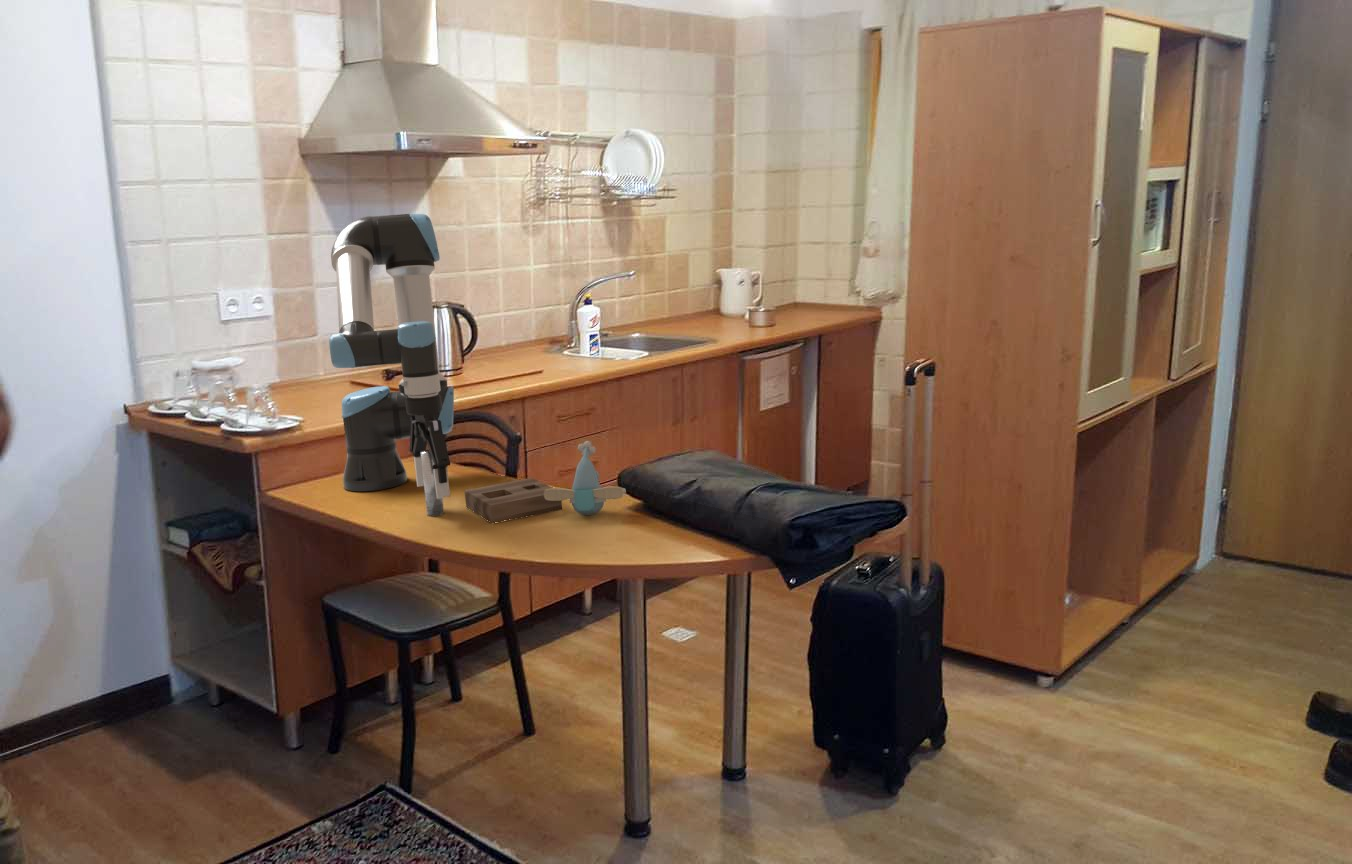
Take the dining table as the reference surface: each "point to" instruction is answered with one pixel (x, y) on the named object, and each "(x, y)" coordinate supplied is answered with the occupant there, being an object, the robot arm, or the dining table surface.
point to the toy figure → (585, 486)
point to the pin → (430, 486)
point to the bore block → (510, 500)
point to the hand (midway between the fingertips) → (433, 491)
